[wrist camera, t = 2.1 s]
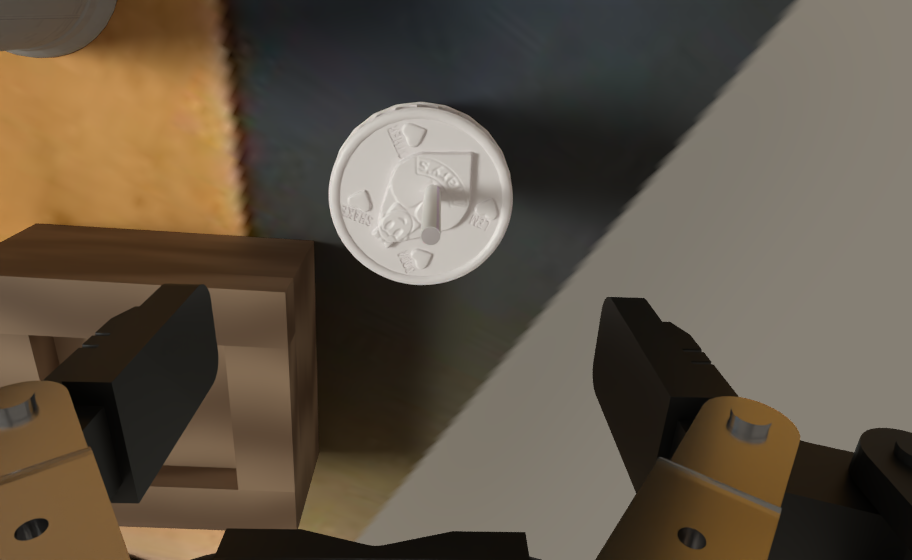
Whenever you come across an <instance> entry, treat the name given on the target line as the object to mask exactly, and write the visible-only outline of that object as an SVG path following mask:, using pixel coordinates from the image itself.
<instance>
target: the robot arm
mask: <svg viewBox="0 0 912 560" xmlns="http://www.w3.org/2000/svg"><path fill="white" fill-rule="evenodd" d="M218 360H219V358H218V347H217V340H216V333H215V325H214V318H213V311H212V303H211V297H210V293H209V290H208V288H207V287H206V286H205V285H204V284H173V283H165V284H163V285H161V286H160V287H159V288H158V289H157V290H156V291H155V292H154V293H153V294H152V295H151V296H150V297H149V298H148V299H147V300H146V301H145V302H144V303H143V304H141V305H140V306H135V307H133V308H131V309H129V310H127V311H125V312H123V313H121V314H119V315H117V316H115V317H113V318H111V319H110V320H109V321H107V322H106V323H105V324H104V325H103V326H102V327H101V328H100V329H99V330H98V331H96V332H95V336H93V335H92V336H91V337H90V338H89V339H88V340H87V341H85V342H84V343H83V344H82V348H78V349H77V350H76V351H74V352H73V353H72V354H71V355H70V356H69V357H68V358H67V359H66V360H65V361H63V362H62V363H61V364H60V365H59V366H58V367H57V368H56V369H55V370H54V371H52V372H51V373H50V374H49V375H48V376H47V377H46V378H45V379H44V380H43V381H26V382H20V383H15V384H11V385H7V386H4V387H0V560H131V559H130V557H129V554H128V551H127V548H126V545H125V542H124V540H123V537H122V534H121V531H120V528H119V525H118V522H117V520H116V517H115V514H114V511H113V508H112V505H111V503H136V504H139V503H140V501H141V500H142V498H143V496H144V495H145V493H146V491H147V490H148V488H149V487H150V485H151V483H152V482H153V480H154V479H155V477H156V475H157V474H158V472H159V471H160V469H161V467H162V466H163V464H164V463H165V461H166V459H167V458H168V456H169V454H170V453H171V451H172V450H173V448H174V446H175V445H176V443H177V442H178V440H179V438H180V437H181V435H182V434H183V432H184V430H185V429H186V427H187V426H188V424H189V422H190V421H191V419H192V417H193V416H194V414H195V413H196V411H197V409H198V408H199V406H200V405H201V403H202V401H203V400H204V398H205V397H206V395H207V393H208V392H209V390H210V389H211V387H212V385H213V383H214V381H215V379H216V375H217V370H218ZM593 385H594V390H595V394H596V396H597V399H598V401H599V404H600V406H601V408H602V411H603V413H604V416H605V418H606V420H607V423H608V426H609V428H610V430H611V433H612V435H613V438H614V440H615V442H616V445H617V447H618V450H619V452H620V455H621V457H622V460H623V462H624V464H625V467H626V469H627V471H628V474H629V477H630V479H631V481H632V484H633V486H634V489H635V491H636V495H635V497H634V498H633V500H632V502H631V503H630V505H629V506H628V508H627V510H626V512H625V513H624V515H623V516H622V518H621V519H620V521H619V523H618V524H617V526H616V528H615V529H614V531H613V532H612V534H611V535H610V537H609V539H608V540H607V542H606V544H605V545H604V547H603V548H602V550H601V552H600V553H599V555H598V556H597V558H596V560H912V433H910V432H906V431H903V430H897V429H890V428H875V429H870V430H867V431H866V432H864V433H863V434H862V435H861V437H860V439H859V442H858V445H857V447H856V450H855V452H854V453H853V452H849V451H844V450H840V449H835V448H831V447H826V446H821V445H816V444H812V443H808V442H804V441H801V440H800V434H799V431H798V430H797V428H796V426H795V425H794V424H793V422H791V421H790V420H789V419H788V418H787V417H786V416H784V415H783V414H782V413H780V412H779V411H777V410H775V409H774V408H771V407H769V406H767V405H765V404H762V403H760V402H757V401H754V400H750V399H746V398H741V397H738V395H737V394H736V393H735V392H734V390H733V389H732V388H731V386H730V385H729V384H728V382H727V381H726V380H725V379H724V378H723V376H722V375H721V374H720V372H719V371H718V370H717V369H716V367H715V366H714V365H711V361H710V360H709V358H708V357H707V356H706V354H705V353H704V352H701V348H700V347H699V346H698V344H697V343H696V342H695V341H694V339H693V338H692V337H691V335H689V334H688V333H686V332H685V331H683V330H682V329H680V328H679V327H677V326H675V325H674V324H672V323H671V322H662V321H661V320H660V318H659V317H658V315H657V314H656V313H655V311H654V310H653V309H652V307H651V306H650V304H649V303H648V302H647V300H646V299H644V298H622V297H607V298H606V299H605V301H604V304H603V307H602V312H601V318H600V325H599V331H598V337H597V343H596V349H595V356H594V362H593ZM192 560H541V559H537V558H533V557H529V552H528V547H527V540H526V534H525V532H461V531H460V532H459V531H455V532H454V531H452V532H447V533H442V534H437V535H432V536H427V537H422V538H417V539H412V540H407V541H403V542H398V543H393V544H387V545H382V546H370V545H365V544H361V543H357V542H352V541H348V540H344V539H340V538H336V537H331V536H327V535H323V534H319V533H314V532H310V531H306V530H302V529H240V528H226V531H225V533H224V536H223V538H222V540H221V543H220V545H219V547H218V550H217V552H216V553H215V554H210V555H205V556H202V557H199V558H195V559H192Z"/></svg>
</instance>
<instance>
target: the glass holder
mask: <svg viewBox="0 0 912 560" xmlns="http://www.w3.org/2000/svg"><path fill="white" fill-rule="evenodd" d="M116 2H117V0H0V51H7V52H10V53H13V54H16V55H21V56H28V57H34V58H47V57H57V56H62V55H66V54H70V53H72V52H74V51H77V50H79V49H81V48H83V47H85V46H86V45H87V44H89V43H90V42H91V41H92V40H94V39H95V38H96V37H97V36H98V35H99V34H100V32H101V31H102V30H103V29H104V28H105V26H106V25H107V23H108V21H109V19H110V17H111V15H112V14H113V12H114V9H115V5H116Z"/></svg>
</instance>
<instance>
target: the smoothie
mask: <svg viewBox="0 0 912 560" xmlns="http://www.w3.org/2000/svg"><path fill="white" fill-rule="evenodd" d="M512 204H513V192H512V184H511V177H510V171H509V169H508V166H507V163H506V160H505V157H504V155H503V152H502V150H501V149H500V147H499V146H498V144H497V143H496V142H495V140H494V139H493V137H492V136H491V135H490V133H489V132H488V131H487V130H486V129H485V128H484V127H482V126H481V125H480V124H479V123H477V122H476V121H475V120H474V119H473V118H471V117H470V116H469V115H467V114H464V113H462V112H460V111H458V110H455V109H453V108H451V107H449V106H446V105H440V104H434V103H427V102H414V103H405V104H397V105H394V106H392V107H389V108H387V109H384V110H382V111H379V112H377V113H375V114H373V115H371V116H370V117H369V118H368V119H366V120H365V121H364V122H363V123H361V124H360V125H359V126H357V127H356V128H355V129H354V130H353V131H352V133H351V134H350V136H349V137H348V138H347V140H346V141H345V143H344V144H343V145H342V147H341V148H340V150H339V153H338V156H337V159H336V161H335V164H334V166H333V170H332V173H331V177H330V183H329V206H330V212H331V216H332V220H333V223H334V226H335V228H336V230H337V233H338V235H339V236H340V238H341V240H342V242H343V243H344V245H345V246H346V247H347V249H348V250H349V251H350V252H351V254H352V255H353V256H354V257H355V258H356V259H357V260H358V261H359V262H361V263H362V264H363V265H364V266H366V267H367V268H369V269H370V270H372V271H373V272H375V273H377V274H379V275H381V276H383V277H385V278H388V279H390V280H393V281H396V282H401V283H405V284H412V285H432V284H439V283H444V282H448V281H451V280H454V279H457V278H459V277H461V276H464V275H465V274H467V273H469V272H471V271H472V270H474V269H475V268H477V267H478V266H479V265H481V264H482V263H483V262H484V261H485V260H486V259H487V258H488V257H489V256H490V255H491V254H492V253H493V252H494V251H495V249H496V248H497V246H498V245H499V243H500V242H501V240H502V238H503V236H504V234H505V232H506V230H507V227H508V224H509V221H510V217H511V212H512Z"/></svg>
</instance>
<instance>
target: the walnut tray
mask: <svg viewBox="0 0 912 560" xmlns="http://www.w3.org/2000/svg"><path fill="white" fill-rule="evenodd" d="M165 283H173V284H204V285H205V286H206V287H207V288H208V290H209V293H210V297H211V303H212V311H213V318H214V325H215V333H216V340H217V347H218V358H219V360H218V370H217V375H216V379H215V381H214V383H213V385H212V387H211V389H210V390H209V392H208V393H207V395H206V397H205V398H204V400H203V401H202V403H201V405H200V406H199V408H198V409H197V411H196V413H195V414H194V416H193V417H192V419H191V421H190V422H189V424H188V426H187V427H186V429H185V430H184V432H183V434H182V435H181V437H180V438H179V440H178V442H177V443H176V445H175V446H174V448H173V450H172V451H171V453H170V454H169V456H168V458H167V459H166V461H165V463H164V464H163V466H162V467H161V469H160V471H159V472H158V474H157V475H156V477H155V479H154V480H153V482H152V483H151V485H150V487H149V488H148V490H147V491H146V493H145V495H144V496H143V498H142V500H141V501H140V503H139V504H136V503H111V505H112V508H113V511H114V514H115V517H116V520H117V522H118V525H119V526H127V527H153V528H180V529H207V530H226V528H240V529H298V527H299V523H300V519H301V516H302V512H303V509H304V505H305V501H306V498H307V494H308V491H309V487H310V483H311V480H312V476H313V473H314V469H315V465H316V462H317V458H318V454H319V428H318V387H317V346H316V306H315V265H314V241H310V240H294V239H278V238H262V237H246V236H229V235H213V234H197V233H181V232H165V231H149V230H133V229H117V228H100V227H84V226H68V225H52V224H34V225H33V226H31V227H29V228H27V229H25V230H23V231H21V232H19V233H17V234H15V235H14V236H12V237H10V238H8V239H6V240H4V241H2V242H0V387H4V386H7V385H11V384H15V383H20V382H26V381H43V380H44V379H45V378H46V377H47V376H48V375H49V374H50V373H51V372H52V371H54V370H55V369H56V368H57V367H58V366H59V365H60V364H61V363H62V362H63V361H65V360H66V359H67V358H68V357H69V356H70V355H71V354H72V353H73V352H74V351H76V350H77V349H78V348H82V344H83V343H84V342H85V341H87V340H88V339H89V338H90V337H91V336H92V335H93V336H95V332H96V331H98V330H99V329H100V328H101V327H102V326H103V325H104V324H105V323H106V322H107V321H109V320H110V319H111V318H113V317H115V316H117V315H119V314H121V313H123V312H125V311H127V310H129V309H131V308H133V307H135V306H140V305H141V304H143V303H144V302H145V301H146V300H147V299H148V298H149V297H150V296H151V295H152V294H153V293H154V292H155V291H156V290H157V289H158V288H159V287H160V286H161V285H163V284H165Z"/></svg>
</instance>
